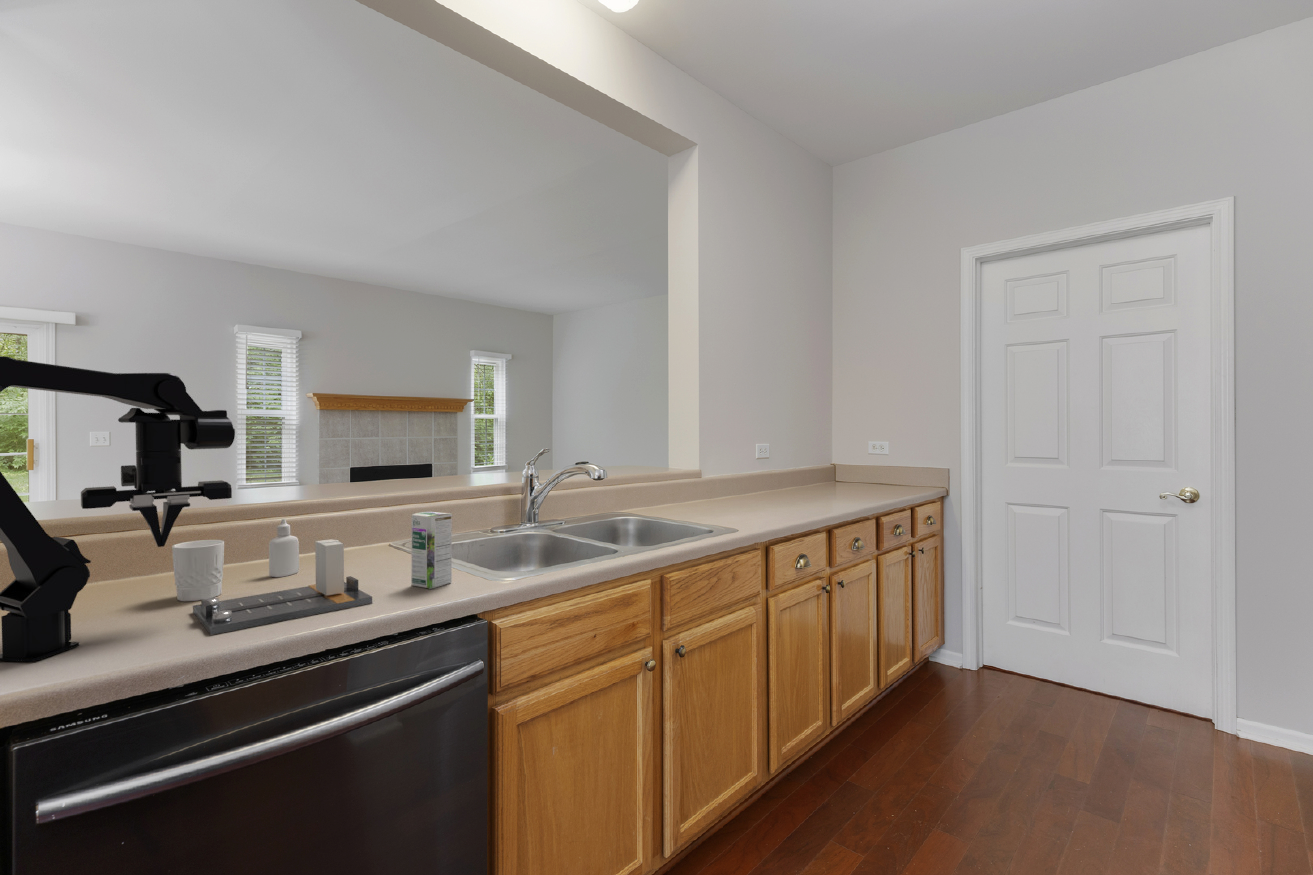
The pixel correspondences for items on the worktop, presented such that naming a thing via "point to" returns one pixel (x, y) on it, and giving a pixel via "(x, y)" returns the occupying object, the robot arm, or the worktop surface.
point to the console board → (275, 607)
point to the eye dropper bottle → (283, 552)
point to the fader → (329, 566)
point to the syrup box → (431, 549)
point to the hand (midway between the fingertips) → (160, 546)
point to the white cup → (198, 569)
